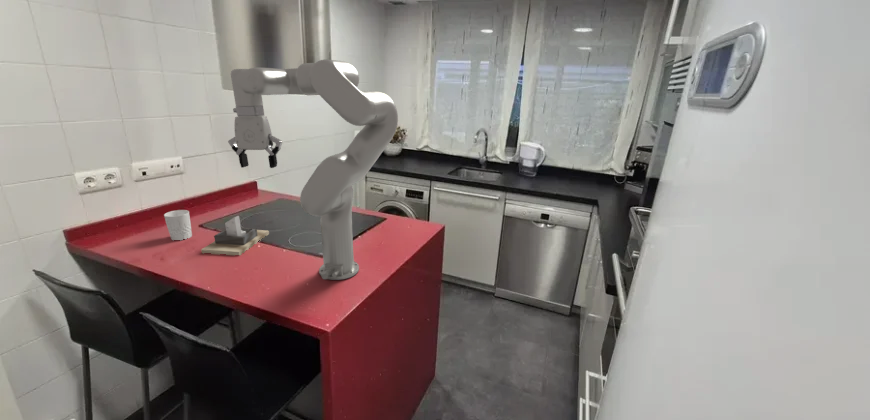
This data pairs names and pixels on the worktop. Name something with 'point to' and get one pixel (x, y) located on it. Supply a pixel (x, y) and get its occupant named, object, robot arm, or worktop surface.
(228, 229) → the white wedge bracket
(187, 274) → the worktop surface
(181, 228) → the white cup
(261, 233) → the board
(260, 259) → the worktop surface
